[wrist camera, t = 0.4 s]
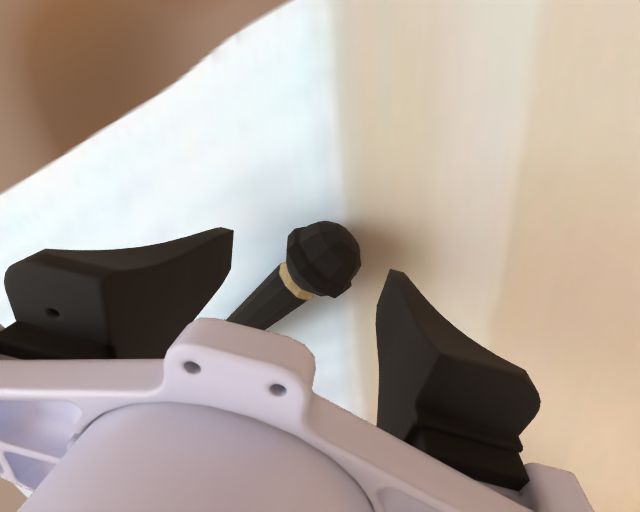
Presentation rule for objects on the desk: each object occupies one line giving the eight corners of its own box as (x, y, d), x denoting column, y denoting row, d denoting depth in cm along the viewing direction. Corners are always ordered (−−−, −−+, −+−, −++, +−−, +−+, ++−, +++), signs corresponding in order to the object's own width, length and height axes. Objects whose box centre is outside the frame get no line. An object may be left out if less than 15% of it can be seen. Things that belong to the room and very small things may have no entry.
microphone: (224, 354, 33) (369, 235, 24) (210, 408, 28) (384, 284, 20) (176, 331, 30) (319, 191, 22) (152, 386, 26) (322, 235, 17)
